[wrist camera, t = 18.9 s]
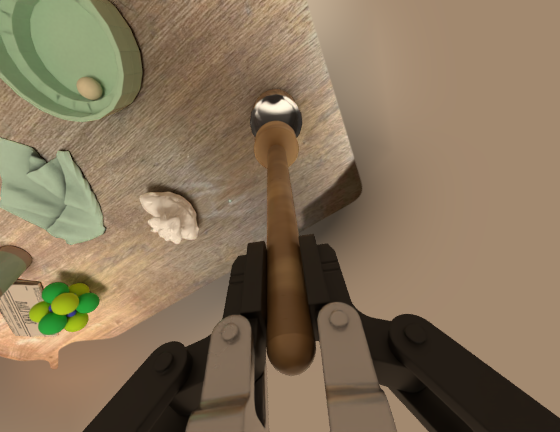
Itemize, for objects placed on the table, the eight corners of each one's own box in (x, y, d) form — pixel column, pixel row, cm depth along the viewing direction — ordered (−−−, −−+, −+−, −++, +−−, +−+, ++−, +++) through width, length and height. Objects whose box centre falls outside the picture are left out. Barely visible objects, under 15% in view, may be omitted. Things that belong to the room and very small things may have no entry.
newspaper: (-21, 273, 54) (-32, 281, 52) (44, 277, 58) (37, 286, 55) (10, 329, 66) (2, 338, 64) (63, 330, 69) (57, 338, 67)
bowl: (105, -40, 28) (69, -61, 23) (163, 102, 36) (145, 110, 31) (-15, -13, 28) (-75, -27, 24) (68, 120, 37) (37, 130, 32)
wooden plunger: (296, 119, 22) (373, 336, 6) (296, 160, 24) (350, 393, 8) (252, 121, 22) (212, 345, 6) (257, 162, 24) (235, 400, 8)
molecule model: (67, 312, 58) (85, 334, 54) (20, 316, 50) (38, 341, 46) (87, 280, 59) (107, 298, 55) (45, 277, 51) (64, 299, 47)
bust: (205, 217, 51) (221, 226, 41) (180, 246, 49) (191, 262, 39) (157, 177, 45) (162, 175, 35) (126, 207, 43) (123, 214, 34)
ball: (89, 69, 33) (100, 89, 35) (67, 77, 31) (80, 96, 34) (99, 80, 32) (110, 99, 34) (77, 87, 31) (90, 107, 33)
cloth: (80, 253, 52) (73, 261, 50) (-44, 181, 42) (-59, 187, 40) (138, 203, 46) (132, 210, 44) (8, 104, 35) (-8, 107, 33)
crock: (294, 84, 35) (298, 89, 30) (300, 132, 39) (304, 144, 34) (248, 93, 36) (244, 100, 31) (258, 139, 40) (256, 152, 35)
